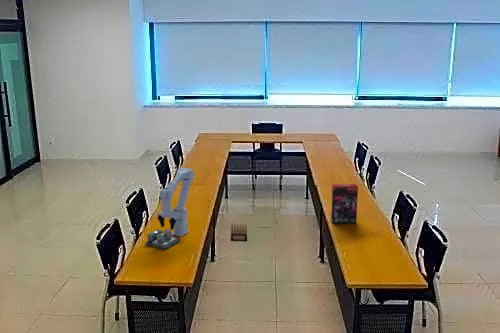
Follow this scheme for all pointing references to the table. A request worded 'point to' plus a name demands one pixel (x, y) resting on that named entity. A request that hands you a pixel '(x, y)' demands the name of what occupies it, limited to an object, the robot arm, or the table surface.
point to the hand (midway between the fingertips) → (167, 227)
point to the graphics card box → (344, 203)
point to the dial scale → (167, 243)
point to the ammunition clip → (239, 233)
